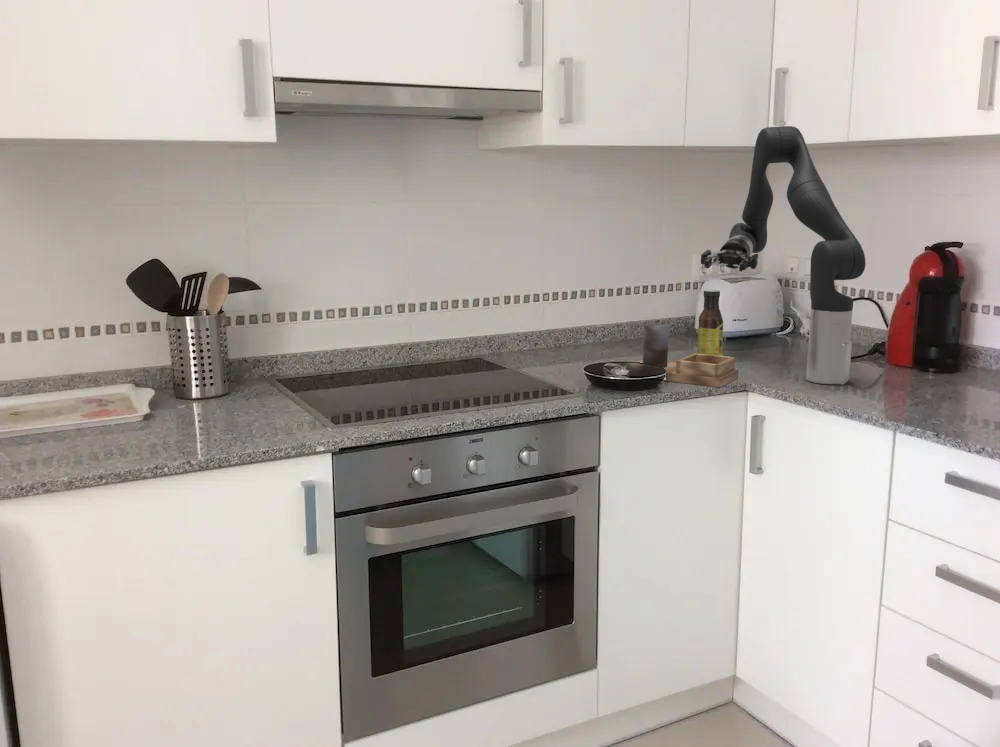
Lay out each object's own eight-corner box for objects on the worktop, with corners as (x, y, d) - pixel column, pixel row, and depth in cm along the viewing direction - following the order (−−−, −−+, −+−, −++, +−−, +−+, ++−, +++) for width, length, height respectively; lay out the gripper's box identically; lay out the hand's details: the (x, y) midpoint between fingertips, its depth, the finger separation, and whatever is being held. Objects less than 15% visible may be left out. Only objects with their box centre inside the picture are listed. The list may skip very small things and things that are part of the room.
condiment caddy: (738, 377, 216) (740, 328, 214) (720, 387, 206) (723, 336, 203) (642, 366, 229) (644, 320, 227) (621, 375, 219) (622, 327, 216)
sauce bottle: (724, 370, 225) (728, 292, 220) (699, 370, 225) (702, 292, 221) (718, 365, 231) (722, 289, 227) (694, 365, 231) (697, 289, 227)
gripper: (711, 235, 243) (697, 249, 230) (764, 239, 237) (753, 254, 224) (709, 262, 246) (695, 277, 232) (762, 267, 240) (751, 283, 227)
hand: (724, 266), depth 228 cm, fingers open, 8 cm apart
